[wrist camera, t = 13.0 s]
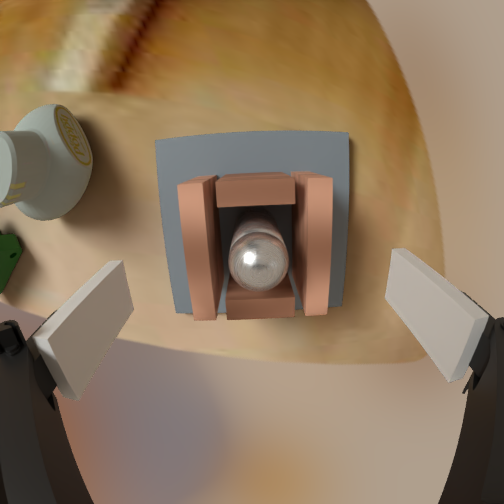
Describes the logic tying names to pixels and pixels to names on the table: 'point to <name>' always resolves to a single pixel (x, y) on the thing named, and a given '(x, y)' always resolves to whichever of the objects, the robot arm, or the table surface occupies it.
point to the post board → (255, 161)
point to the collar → (303, 242)
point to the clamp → (8, 257)
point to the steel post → (257, 251)
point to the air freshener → (44, 163)
